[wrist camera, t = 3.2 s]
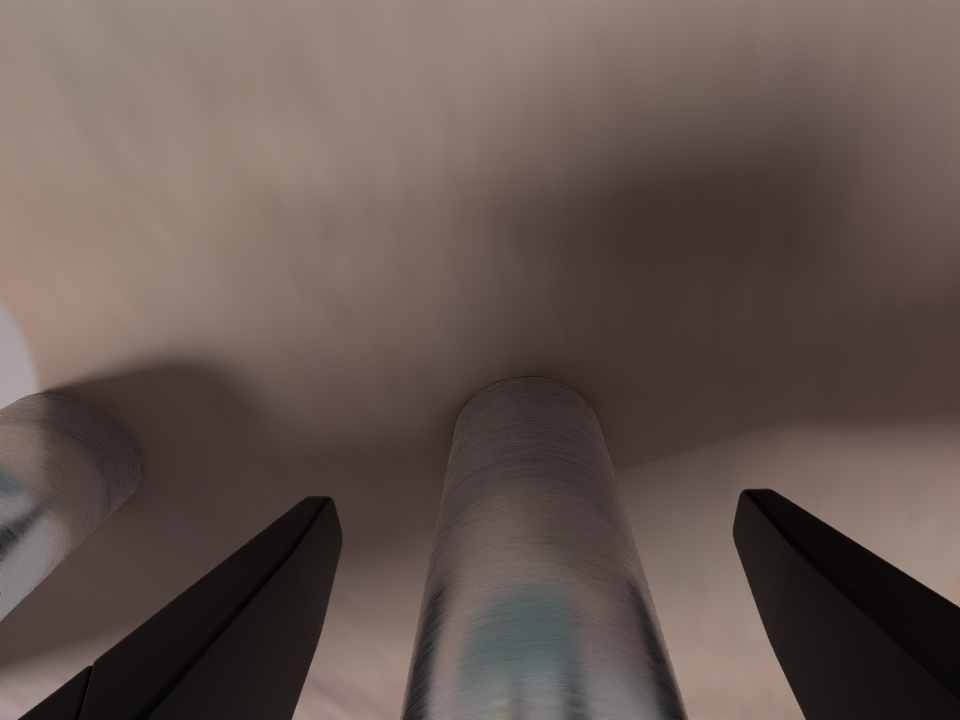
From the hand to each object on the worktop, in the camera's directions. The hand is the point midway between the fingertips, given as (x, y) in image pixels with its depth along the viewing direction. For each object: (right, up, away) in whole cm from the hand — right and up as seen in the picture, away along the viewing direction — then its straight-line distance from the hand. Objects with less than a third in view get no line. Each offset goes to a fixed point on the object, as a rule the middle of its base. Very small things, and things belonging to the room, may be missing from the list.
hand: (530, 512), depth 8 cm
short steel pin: (-10, +1, +3) cm, 10 cm away
